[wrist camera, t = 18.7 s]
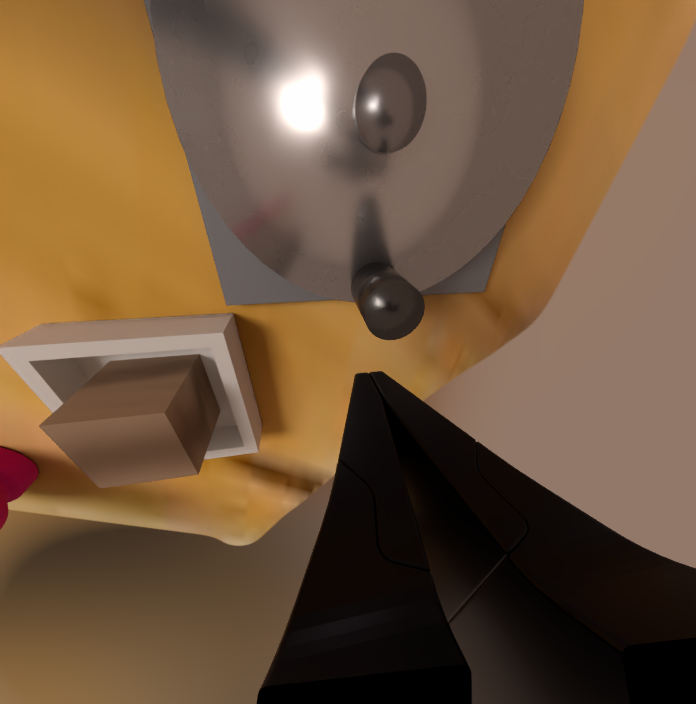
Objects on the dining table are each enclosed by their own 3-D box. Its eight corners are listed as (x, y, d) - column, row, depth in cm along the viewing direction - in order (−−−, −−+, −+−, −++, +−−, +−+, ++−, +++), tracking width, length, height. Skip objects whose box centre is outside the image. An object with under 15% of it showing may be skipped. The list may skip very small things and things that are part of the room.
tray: (40, 323, 16) (-6, 348, 14) (233, 313, 18) (223, 332, 16) (126, 442, 23) (106, 472, 20) (262, 425, 25) (258, 452, 22)
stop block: (110, 360, 18) (38, 426, 13) (199, 353, 19) (164, 412, 14) (145, 418, 21) (99, 488, 16) (220, 410, 22) (198, 474, 17)
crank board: (67, -324, 7) (28, -413, 6) (613, -179, 10) (651, -223, 9) (229, 299, 18) (225, 307, 17) (476, 287, 20) (486, 293, 19)
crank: (62, -353, 7) (-579, -1821, 2) (631, -202, 9) (1004, -640, 4) (234, 307, 17) (209, 355, 12) (481, 292, 19) (543, 327, 14)
